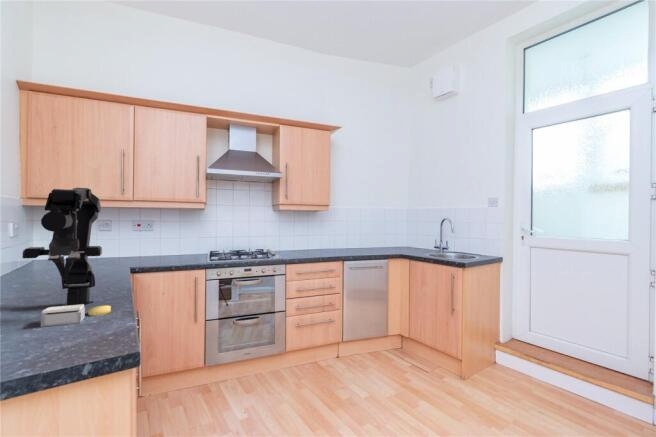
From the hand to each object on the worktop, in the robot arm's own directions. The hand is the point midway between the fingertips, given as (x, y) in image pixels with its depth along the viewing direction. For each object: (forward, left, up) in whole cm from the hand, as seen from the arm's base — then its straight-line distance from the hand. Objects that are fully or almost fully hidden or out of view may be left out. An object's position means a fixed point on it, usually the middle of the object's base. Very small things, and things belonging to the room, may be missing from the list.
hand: (64, 279), depth 103 cm
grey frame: (+5, +4, -12) cm, 13 cm away
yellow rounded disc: (-4, +8, -12) cm, 15 cm away
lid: (+5, +4, -8) cm, 11 cm away
